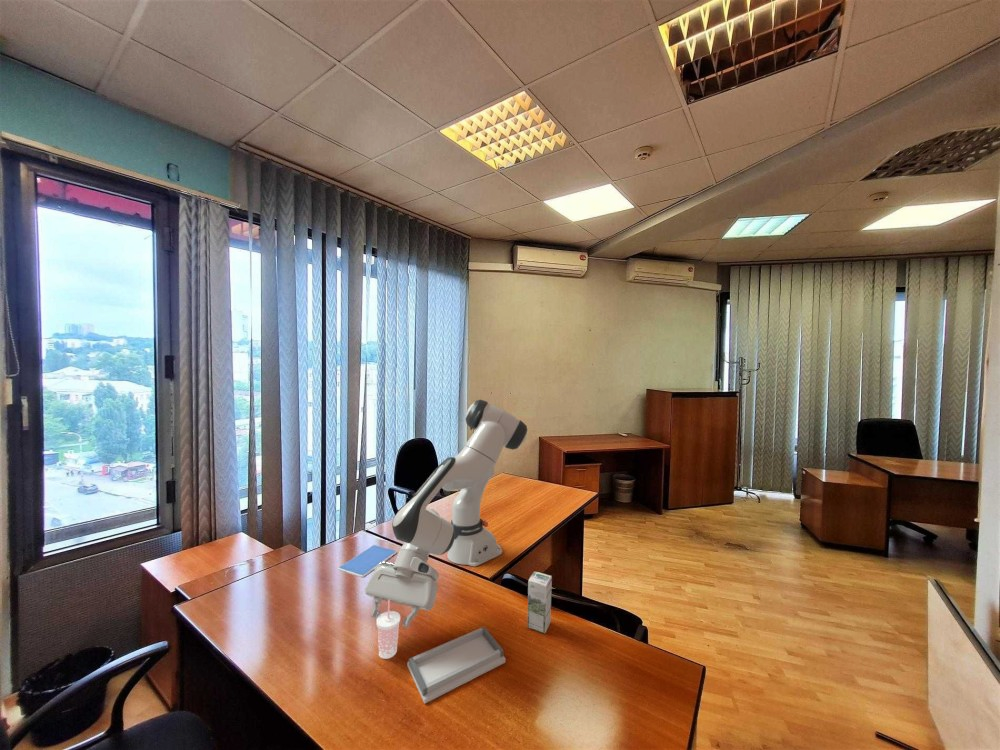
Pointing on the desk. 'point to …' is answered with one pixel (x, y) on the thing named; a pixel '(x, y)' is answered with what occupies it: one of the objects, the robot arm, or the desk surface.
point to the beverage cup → (388, 633)
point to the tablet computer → (367, 561)
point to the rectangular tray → (455, 663)
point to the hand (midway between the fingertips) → (389, 622)
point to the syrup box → (539, 602)
